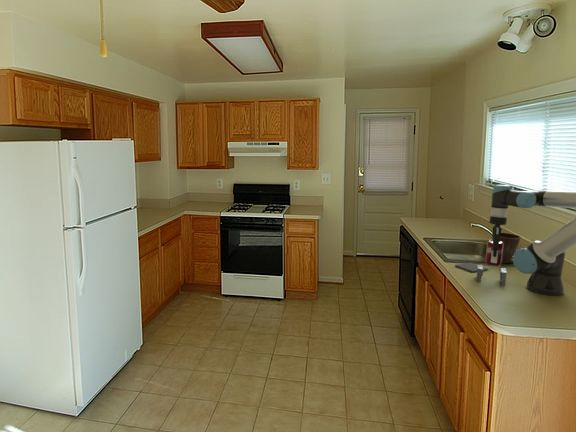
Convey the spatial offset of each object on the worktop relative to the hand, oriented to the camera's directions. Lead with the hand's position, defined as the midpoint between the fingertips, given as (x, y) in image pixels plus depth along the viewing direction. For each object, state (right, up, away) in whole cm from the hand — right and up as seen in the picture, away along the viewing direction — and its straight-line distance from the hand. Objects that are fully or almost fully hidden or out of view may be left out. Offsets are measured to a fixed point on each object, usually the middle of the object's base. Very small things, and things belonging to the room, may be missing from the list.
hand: (493, 260), depth 207 cm
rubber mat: (-1, -7, +22) cm, 24 cm away
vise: (0, -11, +2) cm, 11 cm away
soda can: (0, -2, 0) cm, 2 cm away
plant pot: (+25, -5, +39) cm, 47 cm away
